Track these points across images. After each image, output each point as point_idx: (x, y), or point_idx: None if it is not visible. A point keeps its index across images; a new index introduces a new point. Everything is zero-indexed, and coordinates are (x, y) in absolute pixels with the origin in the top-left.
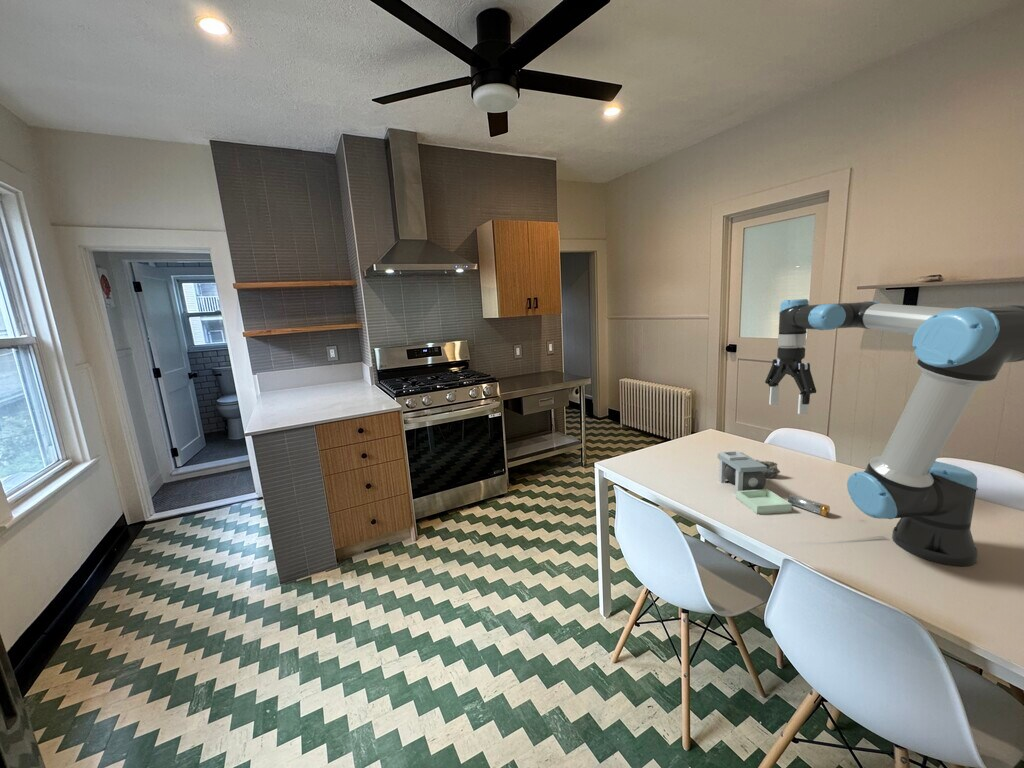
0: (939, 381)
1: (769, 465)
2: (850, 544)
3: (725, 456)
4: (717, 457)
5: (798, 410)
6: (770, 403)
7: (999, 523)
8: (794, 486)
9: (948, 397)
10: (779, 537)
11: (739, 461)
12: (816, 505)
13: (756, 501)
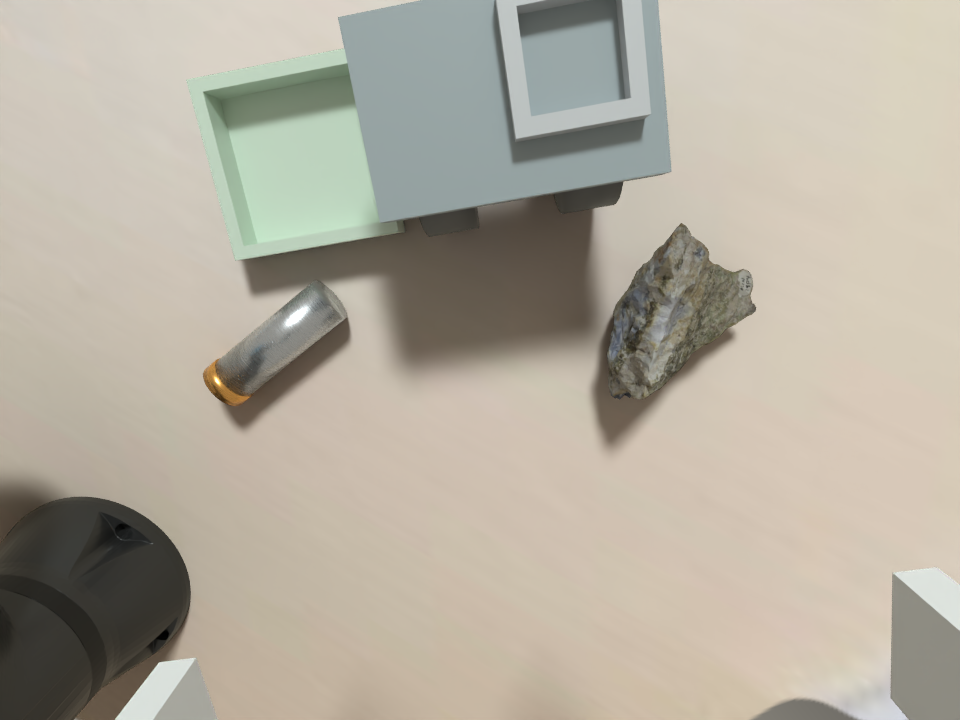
0: None
1: (633, 353)
2: (30, 336)
3: None
4: None
5: (145, 708)
6: (917, 590)
7: None
8: (522, 409)
9: None
10: (18, 95)
11: (470, 67)
12: (229, 357)
13: (323, 140)
